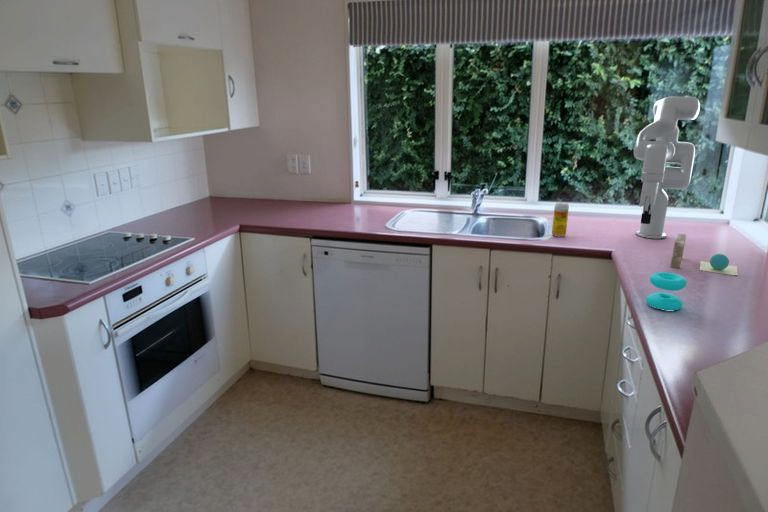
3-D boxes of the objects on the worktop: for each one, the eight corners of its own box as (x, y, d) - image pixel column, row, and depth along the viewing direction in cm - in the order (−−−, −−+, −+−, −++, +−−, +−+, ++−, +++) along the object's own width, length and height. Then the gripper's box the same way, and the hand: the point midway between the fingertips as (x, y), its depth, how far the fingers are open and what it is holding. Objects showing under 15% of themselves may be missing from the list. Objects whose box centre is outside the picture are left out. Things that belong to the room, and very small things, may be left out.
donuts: (680, 271, 166) (692, 283, 156) (675, 301, 169) (686, 314, 159) (646, 270, 167) (656, 280, 158) (641, 299, 170) (651, 311, 161)
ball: (732, 256, 197) (725, 270, 199) (715, 250, 200) (708, 264, 202) (730, 259, 192) (723, 273, 195) (713, 252, 195) (706, 267, 198)
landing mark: (700, 261, 207) (700, 261, 207) (737, 266, 201) (737, 266, 201) (699, 270, 197) (699, 269, 197) (737, 276, 191) (737, 275, 191)
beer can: (556, 237, 240) (560, 205, 235) (549, 234, 246) (552, 202, 241) (568, 236, 242) (571, 204, 237) (560, 233, 247) (564, 201, 243)
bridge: (670, 267, 201) (674, 242, 198) (673, 256, 213) (677, 233, 210) (679, 268, 199) (683, 243, 196) (682, 257, 212) (686, 234, 209)
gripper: (644, 173, 211) (637, 217, 217) (638, 179, 199) (632, 226, 205) (665, 174, 207) (657, 220, 213) (661, 181, 195) (653, 229, 201)
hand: (645, 223), depth 209 cm, fingers closed
